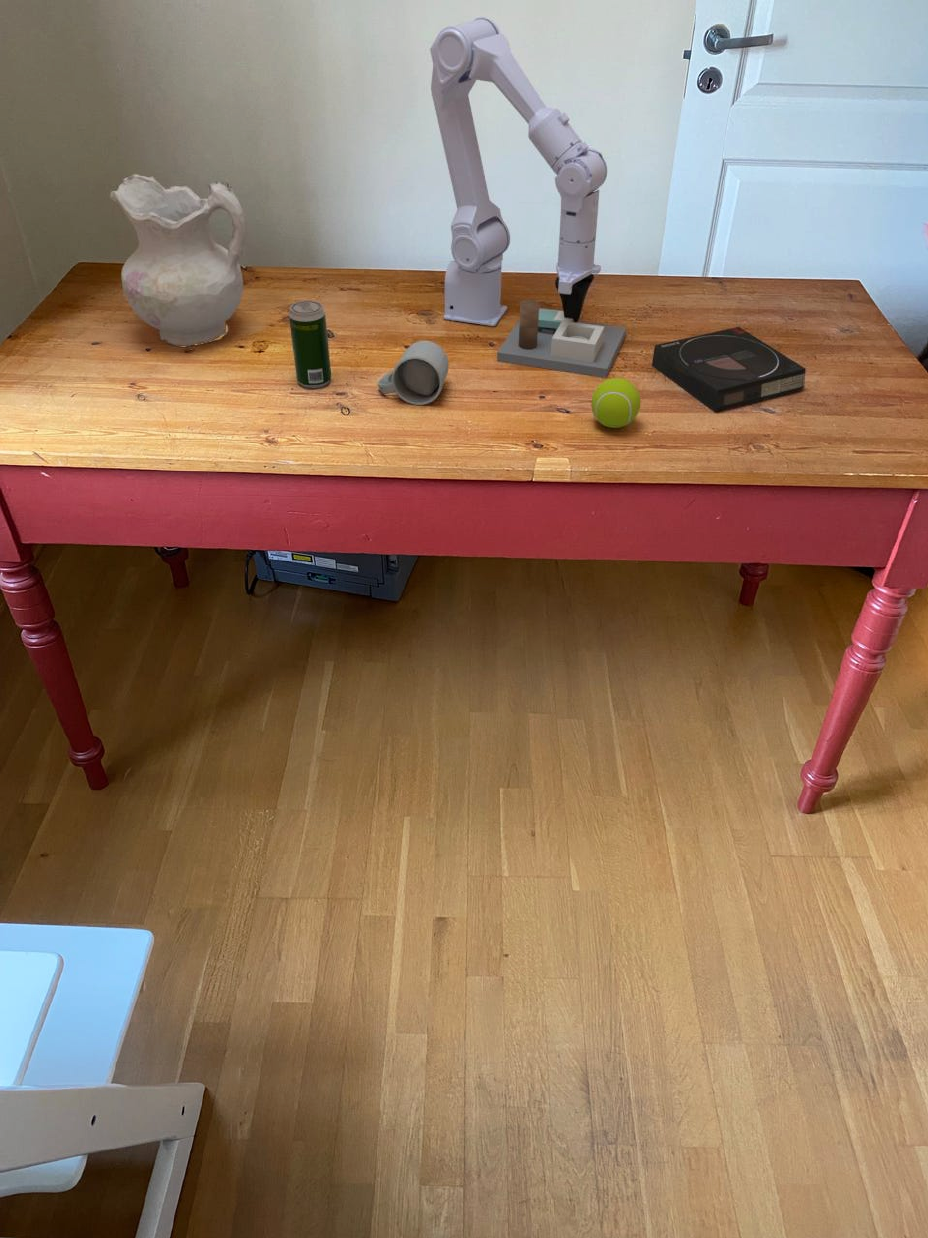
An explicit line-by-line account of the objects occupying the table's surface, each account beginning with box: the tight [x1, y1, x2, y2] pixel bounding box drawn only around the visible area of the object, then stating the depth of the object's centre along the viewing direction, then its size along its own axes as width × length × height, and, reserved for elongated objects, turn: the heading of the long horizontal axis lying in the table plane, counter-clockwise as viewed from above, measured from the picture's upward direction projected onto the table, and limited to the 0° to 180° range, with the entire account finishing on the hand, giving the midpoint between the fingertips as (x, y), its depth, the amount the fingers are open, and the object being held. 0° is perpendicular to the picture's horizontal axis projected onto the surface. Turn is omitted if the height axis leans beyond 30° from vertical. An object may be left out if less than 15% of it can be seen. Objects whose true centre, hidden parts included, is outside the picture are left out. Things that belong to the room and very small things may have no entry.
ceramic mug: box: [377, 340, 449, 406], centre depth 142 cm, size 11×8×8 cm
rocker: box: [538, 307, 574, 329], centre depth 157 cm, size 8×4×1 cm, turn 72°
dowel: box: [519, 299, 540, 350], centre depth 151 cm, size 3×3×7 cm
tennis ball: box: [590, 377, 642, 429], centre depth 135 cm, size 7×7×7 cm
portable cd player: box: [651, 326, 807, 413], centre depth 147 cm, size 16×17×4 cm
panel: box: [496, 318, 627, 379], centre depth 154 cm, size 18×16×4 cm
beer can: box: [288, 300, 332, 390], centre depth 142 cm, size 5×5×12 cm
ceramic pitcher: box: [109, 173, 247, 347], centre depth 152 cm, size 22×20×25 cm
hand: (571, 320), depth 156 cm, fingers closed, pressing on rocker
